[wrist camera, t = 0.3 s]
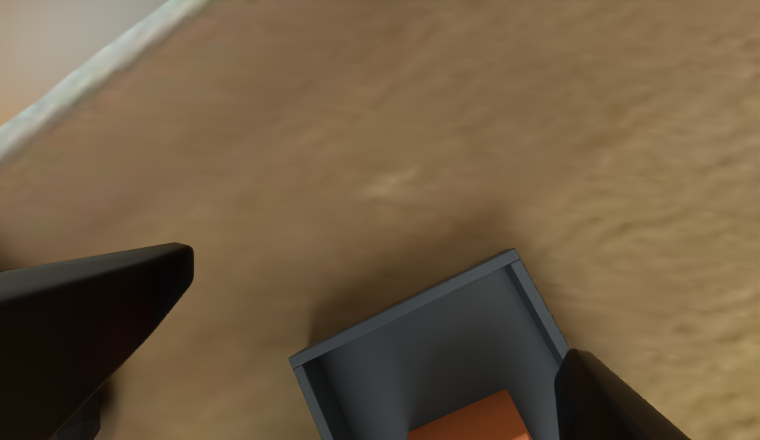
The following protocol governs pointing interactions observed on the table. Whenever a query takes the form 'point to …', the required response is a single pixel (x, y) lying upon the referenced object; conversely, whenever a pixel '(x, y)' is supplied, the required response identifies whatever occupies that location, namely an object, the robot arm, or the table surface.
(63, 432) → the microphone
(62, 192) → the table surface
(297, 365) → the grey tray
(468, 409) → the block
